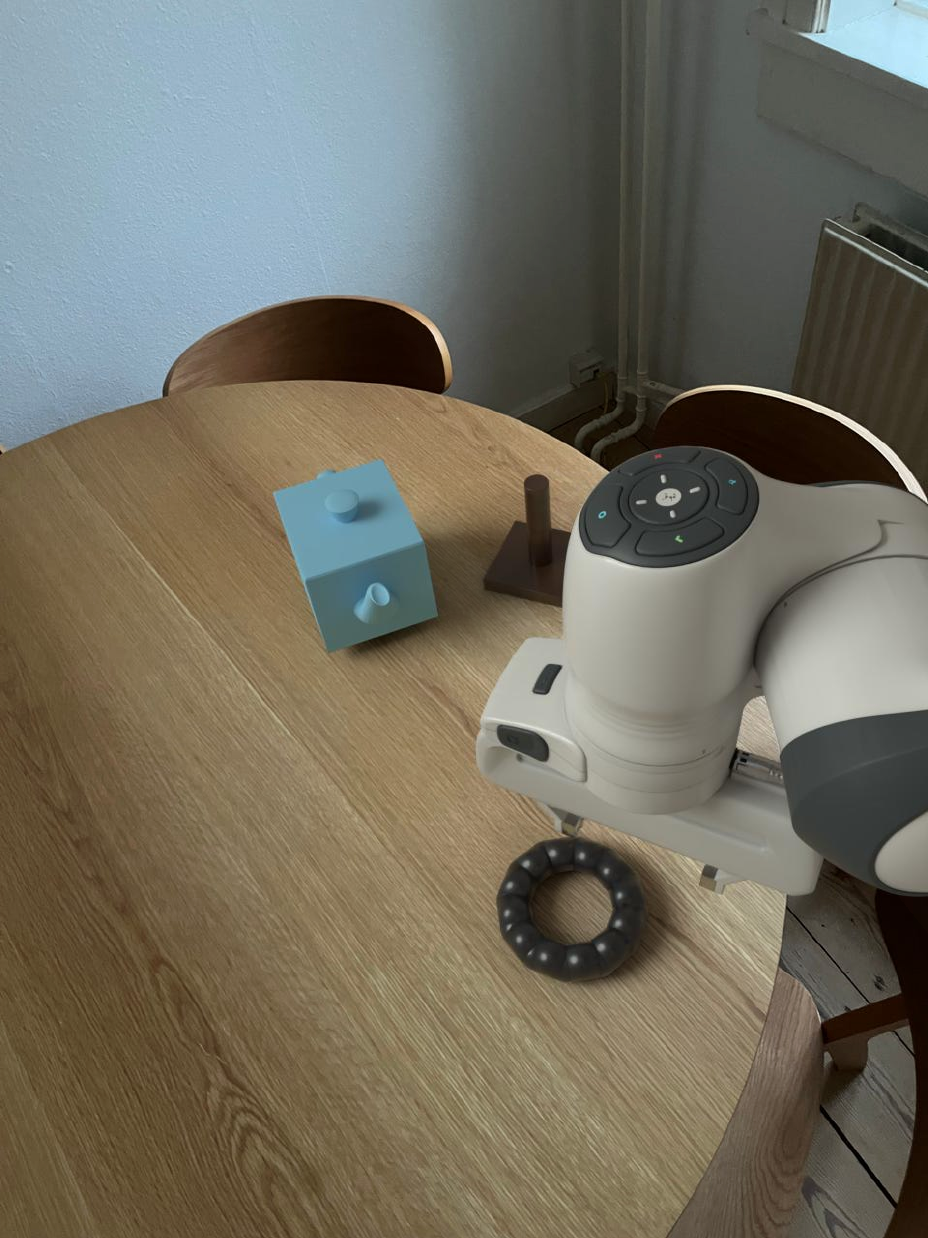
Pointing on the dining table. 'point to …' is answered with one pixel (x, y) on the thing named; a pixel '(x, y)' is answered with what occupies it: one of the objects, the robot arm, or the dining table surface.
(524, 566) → the stand
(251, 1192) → the dining table surface
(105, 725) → the dining table surface
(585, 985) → the dining table surface
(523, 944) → the ring
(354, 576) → the teapot
